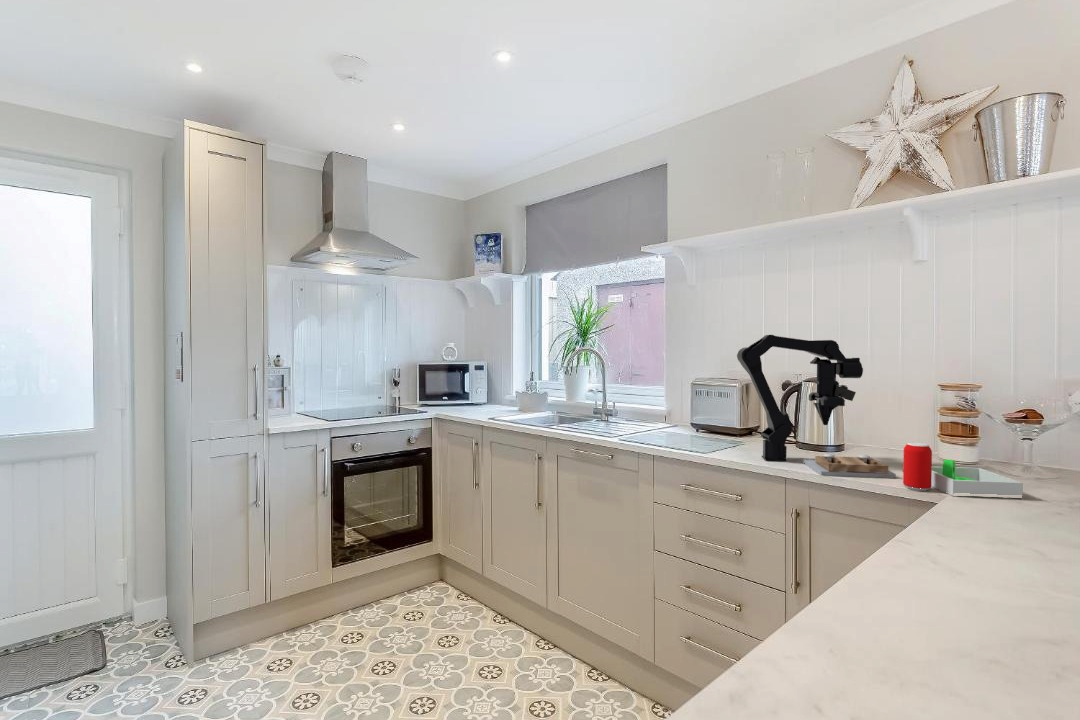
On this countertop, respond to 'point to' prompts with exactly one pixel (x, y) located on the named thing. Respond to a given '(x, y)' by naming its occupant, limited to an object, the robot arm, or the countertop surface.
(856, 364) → the robot arm
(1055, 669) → the countertop surface
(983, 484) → the frame
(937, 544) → the countertop surface
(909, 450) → the beverage can
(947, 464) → the mechanical part
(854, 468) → the panel
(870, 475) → the boss board
